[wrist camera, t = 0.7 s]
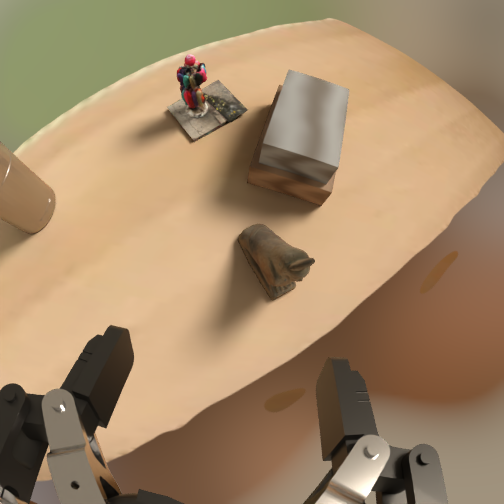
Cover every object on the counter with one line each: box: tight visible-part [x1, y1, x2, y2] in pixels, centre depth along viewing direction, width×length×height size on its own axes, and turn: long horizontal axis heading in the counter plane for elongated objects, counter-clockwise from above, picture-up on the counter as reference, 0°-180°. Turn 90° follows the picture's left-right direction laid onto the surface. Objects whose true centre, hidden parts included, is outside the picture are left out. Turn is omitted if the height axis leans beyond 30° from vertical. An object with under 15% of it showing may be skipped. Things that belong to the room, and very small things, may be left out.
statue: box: [167, 54, 247, 142], centre depth 40 cm, size 11×9×15 cm
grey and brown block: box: [247, 70, 349, 206], centre depth 41 cm, size 12×18×10 cm, turn 164°
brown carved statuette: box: [238, 224, 315, 300], centre depth 34 cm, size 11×5×16 cm, turn 23°
